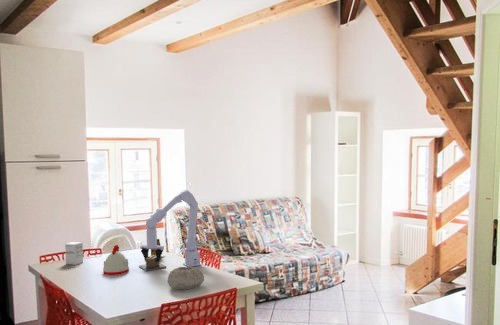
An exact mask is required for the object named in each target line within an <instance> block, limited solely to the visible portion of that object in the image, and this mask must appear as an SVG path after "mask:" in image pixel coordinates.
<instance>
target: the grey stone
mask: <svg viewBox="0 0 500 325" xmlns="http://www.w3.org/2000/svg"><path fill="white" fill-rule="evenodd" d="M204 281H205V276H204V273H203V271H202V270H201V269H199V268H197V267H195V266H193V267H188V266H178V267H176V268H173V270H171V271H169V273H168V276H167V284H168V287H170V288H171V289H174V290H176V291H177V290H178V291H185V290H189V289H194V288H198V287H199V286H201V285H202V284H203V283H204Z"/></svg>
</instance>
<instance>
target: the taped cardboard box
mask: <svg viewBox="0 0 500 325" xmlns="http://www.w3.org/2000/svg"><path fill="white" fill-rule="evenodd" d="M159 263H160V262H157V257H156V256H155V255H153V256H151V255H148V257H147V258H146V262H145V264H146V267H156V266H157V265H159Z"/></svg>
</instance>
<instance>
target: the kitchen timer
mask: <svg viewBox="0 0 500 325" xmlns="http://www.w3.org/2000/svg"><path fill="white" fill-rule="evenodd" d="M102 271H103V272H102V273H103V275H105V274H106V275H105V276H119V274H120V275H124V274H126V273H128V272H129V271H130V267H129V259H128V258H126V257H125V255H124V254H123V253H122V252H121V251H120V246H119V244H116V245H114V246H113V248H112V251H111V252H110V253H109V255H108V256H107V257H106V259H105V260H103V270H102Z"/></svg>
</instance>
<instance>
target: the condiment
mask: <svg viewBox="0 0 500 325" xmlns="http://www.w3.org/2000/svg"><path fill="white" fill-rule="evenodd" d="M160 241H161V240H160V239H159V238H157V245H159V246H161V242H160ZM155 251H156V249H150V256H153V255H155V256H156V252H155ZM165 257H166V256H164V255H163V256H162V255H161V257H160V260H161V259H163V258H165Z"/></svg>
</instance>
